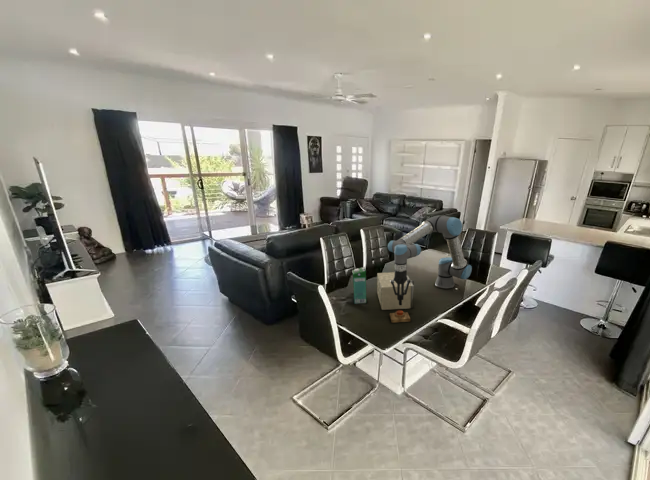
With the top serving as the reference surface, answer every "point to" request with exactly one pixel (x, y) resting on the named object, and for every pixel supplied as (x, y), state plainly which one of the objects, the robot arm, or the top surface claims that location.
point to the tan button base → (399, 317)
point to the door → (411, 291)
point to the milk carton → (359, 285)
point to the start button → (399, 312)
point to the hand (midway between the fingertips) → (400, 304)
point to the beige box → (391, 293)
